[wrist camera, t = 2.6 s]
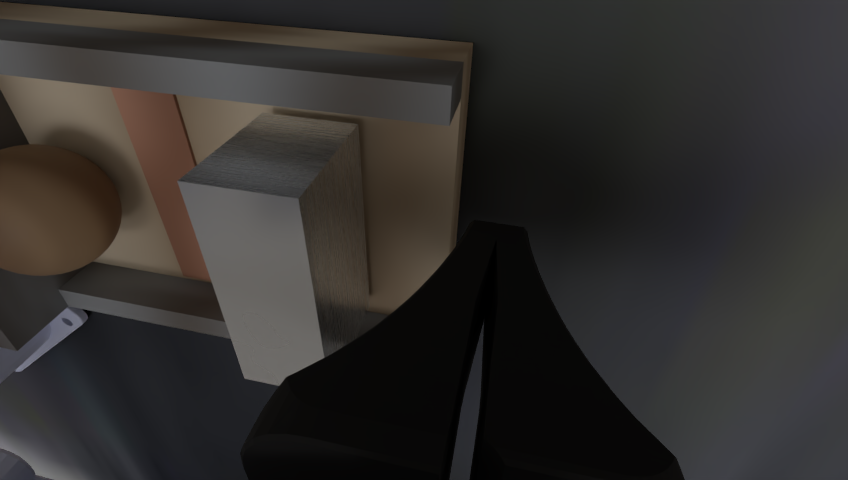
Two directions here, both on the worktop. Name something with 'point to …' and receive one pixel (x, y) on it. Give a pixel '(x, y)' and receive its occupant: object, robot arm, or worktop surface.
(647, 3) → the worktop surface
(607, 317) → the worktop surface
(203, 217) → the grey rectangular block
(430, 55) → the wooden shadow box
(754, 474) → the worktop surface
